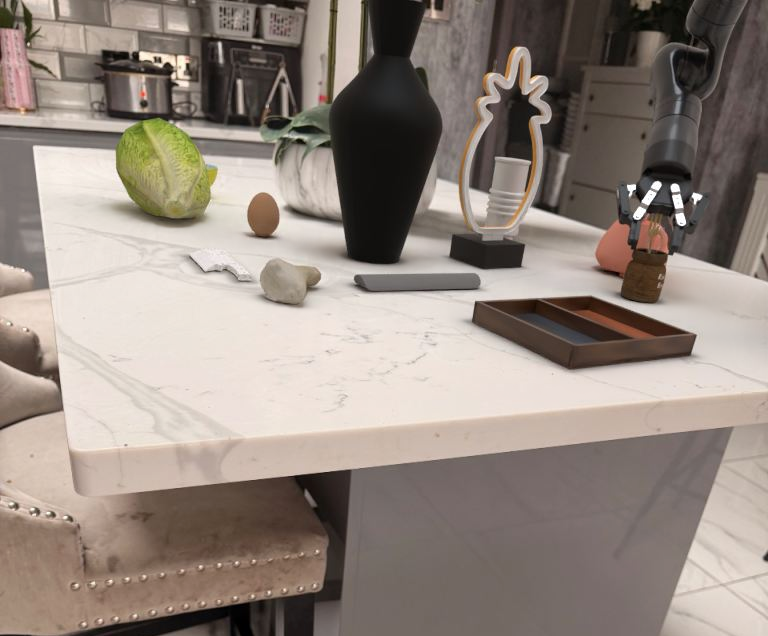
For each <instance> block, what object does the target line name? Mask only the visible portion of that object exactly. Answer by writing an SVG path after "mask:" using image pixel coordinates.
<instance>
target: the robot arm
mask: <svg viewBox="0 0 768 636" xmlns="http://www.w3.org/2000/svg"><path fill="white" fill-rule="evenodd" d="M748 1H749V0H694V1H693V3H692V4H691V7H690V8H689V11H688V13H687V16H686V19H685V28H686V30H687V31H688V33H689V35H691V36H692V37H693V38H695V39H697V40H698V41H700V42H701V43H703V44H704V45H705V46H706V47H707V48H706V49H702V48H698V47H696V46H692V45H687V44H685V43H681V42H670V43H669V42H668V43H667V44H665V45H664V46H662V47H661V48H660V49H659V50H658V51H657V52H656V54H655V55H654V58H653V60H652V63H651V65H650V70H649V87H650V89H649V90H650V94H651V95H650V96H651V100H652V105H653V116H652V117H653V118H652V122H651V129H650V133H649V135H648V138H647V141H646V145H645V149H644V152H643V161H642V167H641V171H640V177H639V179H638V181H637V182H636V183H634V184H628V183H627V181H625V180H621V181H620V182H619V183H618V186H617V190H616V193H615V199H616V208H617V217H618V219H619V223H620V224H622V225H624V224H627V225H628V226H629V227H630V230H629V236H628V241H627V243H628V245H630V246H631V249H632V250H636V247H637V244H638V240H639V235H640V229H641V224H642V221H643V220H644V219H645V218H646V216H647V215H648V214H649V215H652V213H654V215H656V214H658V215H660V214H662V217H663V216H664V217H667V220H668V223H669V225H670V226H671V230H672V233H671V235H670V240H669V246H668V256H672V257H673V256H674V254H675V253H679V250H680V249H681V246H682V243H683V237H684V234H687V235H694V233H695V232H696V229H697V227H698V226H699V224H700V221H701V219H702V217H703V215H704V214H705V212H706V210H707V207H708V205H709V202H710V200H711V198H712V194H711V193H710V192H704V193H703V194H700V193H698V192H694V188H693V186H692V181H693V175H694V169H695V164H696V163H695V162H696V158H697V153H698V152H697V151H698V146H699V129H700V124H701V123H700V122H701V118H702V112H703V107H702V105H703V103H702V101H704V100H705V99H707V98H708V97H709V96H710V95H711V94H712V93H713V92H714V90H715V88H716V86H717V84H718V82H719V79H720V74H721V68H722V65H723V60H724V56H725V52H726V49H727V46H728V42H729V40H730V37H731V35H732V32H733V30H734V28H735V25H736V24H737V22H738V19H739V18H740V16H741V14H742V13H743V10H744V8H745V6H746V4H747V2H748ZM633 195H634V196H635V197H636V198H637V200H638V202H639V203H640V204H639V206H638V208H637V209H636V210H635V211H634V212H632V211H631V206H630V205H631V204H630V200H631V198H632V196H633ZM689 202H690V203H691V208H692V211H693V214H692V216H691V218H690V219H686V217H685V211H684V210H685V207H684V206H686V205H687V204H688V203H689ZM618 219H617V220H618Z"/></svg>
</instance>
